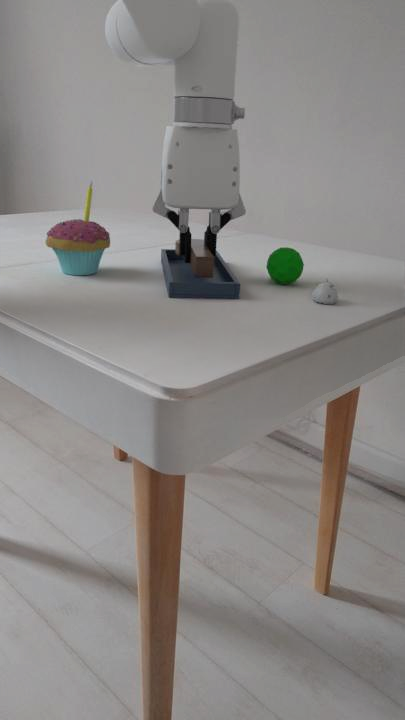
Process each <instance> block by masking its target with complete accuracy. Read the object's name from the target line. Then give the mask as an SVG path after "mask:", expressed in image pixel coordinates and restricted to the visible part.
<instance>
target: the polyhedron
mask: <svg viewBox="0 0 405 720" xmlns="http://www.w3.org/2000/svg"><path fill="white" fill-rule="evenodd" d="M304 266H305V264H304V261H303V258H302V255H301V253H300V252H298V251H297V250H296V249H294V248H291V247H287V246H286V247H279V248H277V249H275V250H274V251H272V252H271V253H270V254H269V256H268V259H267V262H266V270H267V273H268V275H269V278H270V279H271V280H272V281H273V282H275V283H276V284H279V285H290V284H293V283H295V282H296V281H297V280H298V279H299V278H300V277H301V276H302V274H303V271H304Z"/></svg>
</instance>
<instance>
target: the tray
mask: <svg viewBox="0 0 405 720" xmlns="http://www.w3.org/2000/svg"><path fill="white" fill-rule="evenodd" d="M213 257H214V263H213V278H198V277H195V275H194V273H193V271H192V268H191V266H190V263H185V261H184V258H183V256H179V255H176V254H175V248H174V249H173V248H165V249H164V248H161V249H160V262H161V267H162V271H163V277H164V281H165V282H164V283H165V286H166V290H167V291H166V292H167V295H168V298H172V299H173V298H176V299H177V298H178V299H179V298H180V299H183V298H184V299H232V300H233V299H240V291H241V283H240V281H239V279H238V278H237V276H235V273H233V271H232V270H231V269H230V267H229V266H228V264H227V263H226V261H225V260H224V258H223V257H222V256H221V254H220V252H219V251H218V250H216V256H213Z"/></svg>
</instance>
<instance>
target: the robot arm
mask: <svg viewBox="0 0 405 720" xmlns="http://www.w3.org/2000/svg"><path fill="white" fill-rule="evenodd" d="M239 17H240V16H239V13H238V9H237V7H236V5H234V4H233V3H231V2H230V1H227V0H116V1H115V3H114V4H113V5H112V6H111V8H109V11H108V13H107V16H106V18H105V22H104V23H105V24H104V31H105V32H104V34H105V39H106V42H107V45H108V47H109V48H110V50H111V52H112V53H113V54H114V55H115V56H116V57H117V58H118V59H119V60H120V61H122V62H124V63H125V64H127V65H130V66H133V67H139V68H141V67H142V68H144V67H157V66H158V67H159V66H172V67H173V100H172V101H173V102H172V104H173V105H172V125H167V126H166V129H165V134H164V139H163V146H162V158H161V173H160V188H159V191H158V193H157V196H156V198H155V200H154V203H153V204H152V207H151V208H152V212H153V213H155V214H157V215H159V216H161V217H163V218H165V219H167V220H169V221H170V222H171V224H172V225H173V226H174V227H175V228H177V230H178V231H179V236H178V237H179V239H178V240H179V255H183V258H184V261H185V263H189V262H190V249H191V239H192V233H191V228H190V227H189V215H190V209H191V210H208V226H206V230H205V231H204V234H203V235H204V237H203V240H204V243H205V244H206V246H207V247H208V249H209V250H210V252H211V254H212V255H213V256H216V251H217V242H218V241H217V240H218V239H217V238H218V234H219V233H220V231H221V230H222V229H223V228H224V227H225V226H226V225H227V224H228V223H229V222H230V221H233V220H236V219H238V218H240V217H242V216H245V215H246V212H247V211H246V207H245V205H244V202H243V199H242V196H241V194H240V190H241V189H240V187H241V186H240V185H241V184H240V183H241V180H240V177H241V172H240V171H241V169H240V168H241V167H240V165H241V164H240V162H241V161H240V142H239V134H238V129H235V128H233V125H234V123H235V122H236V121H238V120H245V115H246V109H245V107H239V106H237V104H236V101H235V89H236V73H237V71H236V69H237V56H238V41H239V40H238V37H239ZM171 208H174V209H177V212H176V211H175V210H174V209H171ZM221 210H222V212H221ZM223 210H224V211H223Z"/></svg>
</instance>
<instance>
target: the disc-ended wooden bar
mask: <svg viewBox="0 0 405 720" xmlns="http://www.w3.org/2000/svg"><path fill="white" fill-rule="evenodd" d="M174 245H175V247H174V249H175V254H176V255H179V239H177V240H175V243H174ZM179 256H183V255H179ZM189 263H190V266H191V268H192V271H193V273H194V275H195V277H198V278H213V263H214V257H213V255H212V254H211V252H210V250H209V249H208V247H207V246H206V244H205V243H204V239H201V238H191V249H190V262H189Z"/></svg>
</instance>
